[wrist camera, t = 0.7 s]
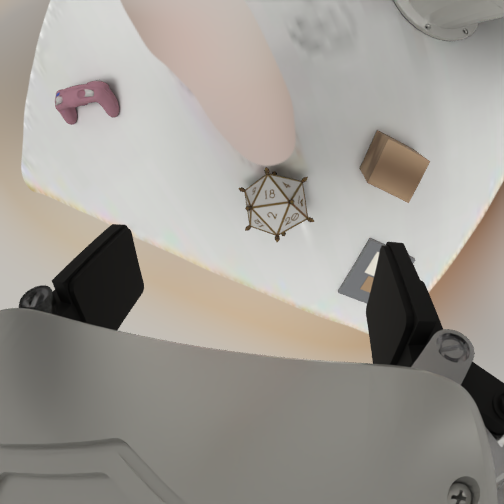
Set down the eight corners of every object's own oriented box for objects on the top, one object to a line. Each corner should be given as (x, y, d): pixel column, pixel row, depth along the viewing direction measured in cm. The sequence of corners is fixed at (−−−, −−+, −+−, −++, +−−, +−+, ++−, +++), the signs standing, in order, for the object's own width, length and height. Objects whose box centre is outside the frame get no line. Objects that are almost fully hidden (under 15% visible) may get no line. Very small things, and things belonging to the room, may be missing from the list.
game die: (287, 171, 42) (323, 158, 32) (296, 232, 43) (334, 234, 34) (224, 179, 39) (246, 165, 30) (234, 243, 41) (259, 249, 31)
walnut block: (376, 130, 33) (388, 138, 28) (413, 149, 33) (430, 161, 28) (359, 168, 36) (367, 182, 31) (395, 185, 36) (408, 203, 31)
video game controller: (126, 90, 37) (99, 71, 30) (121, 118, 37) (92, 103, 30) (77, 100, 38) (49, 86, 31) (71, 126, 39) (41, 115, 32)
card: (369, 237, 41) (370, 240, 40) (414, 258, 41) (415, 260, 40) (338, 290, 46) (338, 293, 45) (380, 306, 46) (381, 308, 46)
